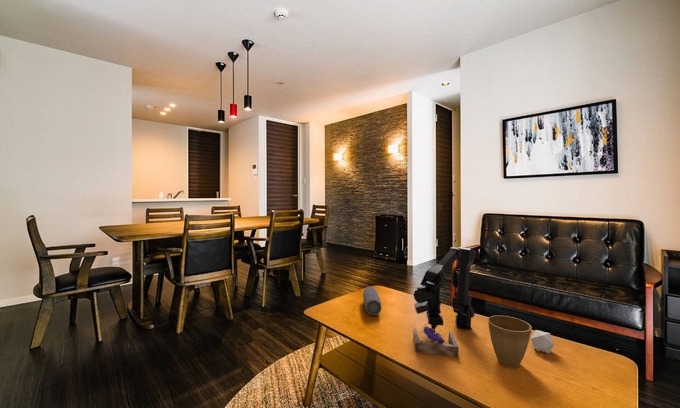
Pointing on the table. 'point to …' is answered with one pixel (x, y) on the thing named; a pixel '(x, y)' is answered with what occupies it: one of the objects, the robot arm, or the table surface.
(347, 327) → the table surface
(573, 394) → the table surface
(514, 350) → the plant pot
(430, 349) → the docking bay
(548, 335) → the die
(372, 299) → the bluetooth speaker
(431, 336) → the game controller
